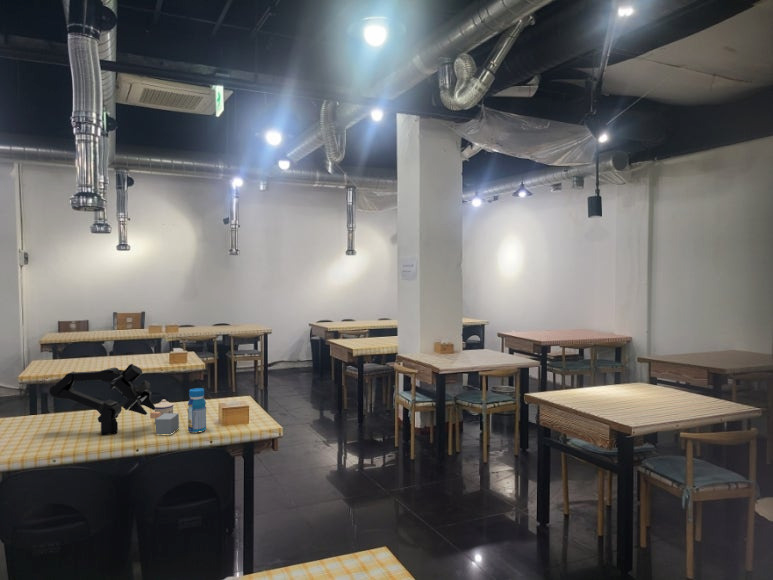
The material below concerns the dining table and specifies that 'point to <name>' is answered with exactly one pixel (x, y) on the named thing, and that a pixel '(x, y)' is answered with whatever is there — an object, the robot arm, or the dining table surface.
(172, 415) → the lid
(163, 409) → the teacup with lid
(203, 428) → the beverage bottle
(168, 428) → the carton
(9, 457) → the dining table surface
